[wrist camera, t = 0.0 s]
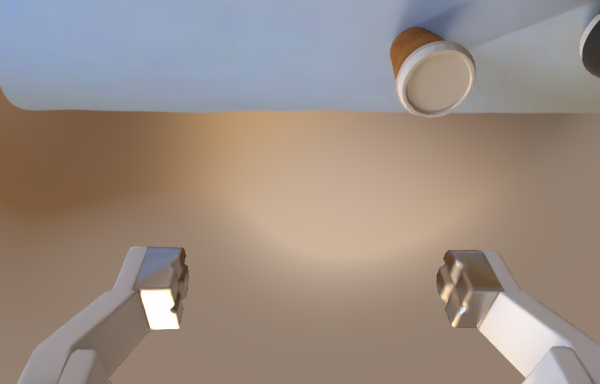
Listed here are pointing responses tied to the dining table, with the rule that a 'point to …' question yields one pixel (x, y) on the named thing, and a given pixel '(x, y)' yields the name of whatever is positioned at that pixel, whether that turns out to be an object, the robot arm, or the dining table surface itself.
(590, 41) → the dark brown egg timer
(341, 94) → the dining table surface
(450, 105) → the disposable coffee cup
